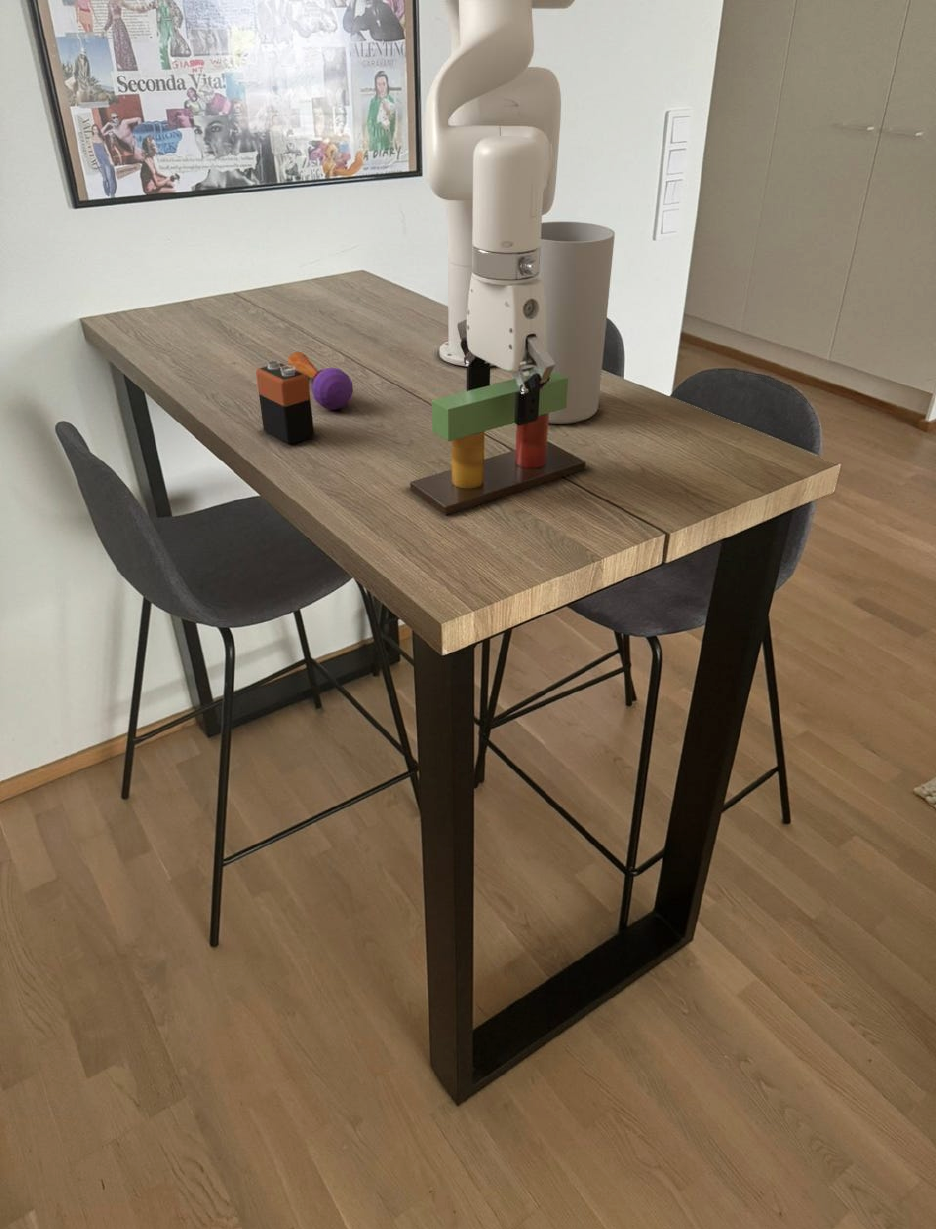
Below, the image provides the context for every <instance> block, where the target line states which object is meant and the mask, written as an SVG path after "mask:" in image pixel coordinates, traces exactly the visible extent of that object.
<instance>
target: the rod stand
mask: <svg viewBox="0 0 936 1229" xmlns="http://www.w3.org/2000/svg"><path fill="white" fill-rule="evenodd" d="M548 420H549V413H548V414H544V415H541V416H538V420H537V421H534V422H530V423H527V424H523V425H520V426H518V425H516V430H515V450H512V451H508V452H504V453H501V454H498V455H495V456H491V457H488V458H485V437H486V436H485V432H486V431H484V432H480V433H477V434H473V435H470V436H466V437H463V438H459V439H456V440H452V441H450V442H451V469H449V470H445V471H441V472H438V473H435V474H432V475H429V476H425V477H422V478H418V479H415V480H411V481H410V483H409V484H410V485H409V488H410V492H412V493H413V494H415V495H417V497H419V498H421V499H422V500H423V501H425V502H426V503H427V504H429V505H430V506H432V508H435V509H436V510H437V511H439V512H440V513H442V514H443V515H444V516H448V515H452V514H454V513H455V514H456V513H457V512H461V511H464V510H467V509H471V508H473V507H476V506H480V505H482V504H485V503H489V502H491V501H494V500H497V499H500V498H503V497H506V496H509V495H513V494H515V493H519V492H521V491H524V490H528V489H531V488H533V487H536V486H539V485H543V484H546V483H549V482H551V481H555V480H557V479H561V478H563V477H567V476H570V475H573V474H576V473H579V472H582V471H584V470H586V461H585V460H583V459H581V458H580V457H578V456H576V455H574V454H572V453H570V452H569V451H567V450H565V449H563V448H561V447H559V446H557V445H556V444H554V443H552V442H550V441H548V436H549V435H548V434H549V423H548Z"/></svg>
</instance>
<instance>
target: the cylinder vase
mask: <svg viewBox="0 0 936 1229" xmlns="http://www.w3.org/2000/svg"><path fill="white" fill-rule="evenodd" d="M615 236H616V232H615V230H613V229H612V228H610V227H607V226H604V225H601V224H595V223H590V222H582V221H581V222H580V221H561V220H560V221H544V222H543V221H542V226H541V249H540V270H539V279H541V280H542V281H543V287H544V294H545V304H546V331H547V332H546V351H547V352H548V353H549V355H550V356H551V357H552V359H553V360H554V362H555V366H554V368H553V370H552V371H554V372H556V373H559V374H561V375H563V376H565V377H567V378H568V390H567V403H566V408H565V409H562V410H558V411H555V412H551V413H549V420H548V424H553V425H564V424H567V425H568V424H574V423H580V422H582V421H585V420H586V421H587V420H589V418H591V417H593V416H594V415H595V414H596V413H597V411H598V408H599V402H600V391H601V383H602V382H601V381H602V373H603V372H602V370H603V360H604V351H605V350H604V349H605V342H606V340H605V339H606V329H607V321H608V320H607V319H608V318H607V317H608V307H609V300H610V287H611V280H612V268H613V258H614V257H613V256H614V247H615ZM523 364H527V363H526V362H524V361H523V362H520V365H523ZM523 374H524V376H528V375H530V374H529V371H526V372H523Z"/></svg>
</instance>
